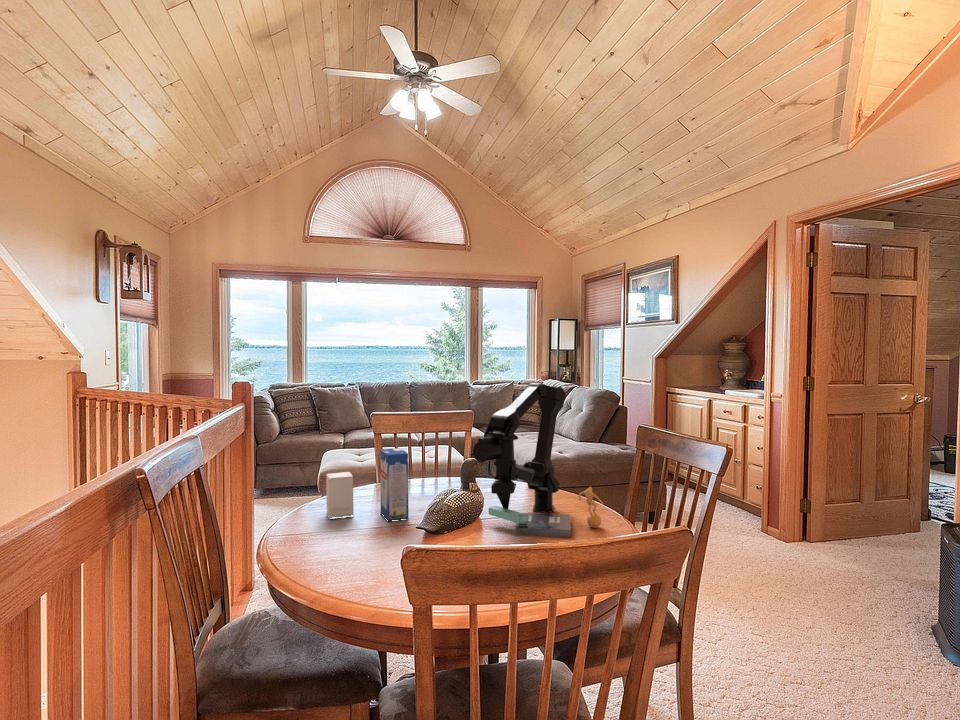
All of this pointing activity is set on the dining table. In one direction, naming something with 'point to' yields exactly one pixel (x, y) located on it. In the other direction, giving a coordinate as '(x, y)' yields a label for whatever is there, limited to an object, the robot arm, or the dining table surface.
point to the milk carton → (394, 483)
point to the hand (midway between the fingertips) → (506, 510)
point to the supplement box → (339, 494)
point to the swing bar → (508, 514)
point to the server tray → (545, 525)
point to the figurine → (593, 518)
